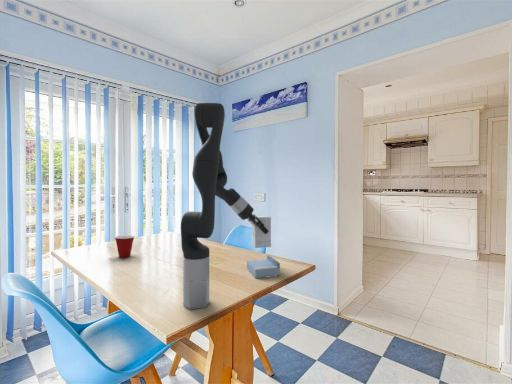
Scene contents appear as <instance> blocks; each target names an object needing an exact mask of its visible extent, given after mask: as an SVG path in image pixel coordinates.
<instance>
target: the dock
mask: <svg viewBox="0 0 512 384" xmlns="http://www.w3.org/2000/svg"><path fill="white" fill-rule="evenodd" d="M280 264H281V263H280V262H279V261H277V260H276V259H275V258H273V257H272V256H271V255H269V254H267V255H266V259H265V258H264V259H255V260H247V261H246V270H249V271H248V272H249V273H250V274H251V275H252V277H254V279H261V277H265V278H268V277H267V276H274V277H276V276H275V275H280V273H281V271H280V269H281V268H280V267H281V265H280Z"/></svg>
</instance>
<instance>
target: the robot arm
mask: <svg viewBox="0 0 512 384" xmlns="http://www.w3.org/2000/svg"><path fill="white" fill-rule="evenodd" d="M225 112H226V111H225V107H224V105H223V104H222V103H219V102H198V103H196V105H195V107H194V109H193V115H194V123H195V126H196V129H197V133H198V136H199V139H200V142H201V145H202V146H201V147H200V148H199V150H198V151H197V152H196V154H195V156H194V159H193V163H192V164H193V165H192V179H193V182H194V183H195V186H196V187H197V188H196V189H197V190H198V192H199V194H200V197H201V201H202V202H201V203H202V207H201V208H202V209H201V211H186V212H184V213H183V215H182V218H181V221H180V238H181V242H180V243H181V249H182V256H183V257H182V259H183V261H182V263H183V265H182V266H183V267H182V270H183V273H182V274H183V277H182V278H183V284H182V286H183V287H182V290H183V291H182V293H183V299H182V300H183V302H182V303H183V306H184V307H185V308H187V309H188V310H196V309H203V308H207V307H208V305H209V303H210V248H209V247H208V246H207V245H205V244H203V243H201V241H199V240H198V239H209V238H211V236H213V233H214V230H215V218H216V216H215V212H216V211H215V210H216V208H215V207H216V197H217V198H219V199H221V200H222V201H224V202H225V203H226V204H227V205H228V206H229V207H230V209H231V210H232V211H233V212H234V213H235V214H236V215H237V216H238V217H239V218H240V219H241V220H242V221H244V220H247V221H248V222H249V223H250V224H251V226H252V225H253V224H254V223H255V224H254V225H255V226H257V227H258V228H259V229H261V230H262V231H263V232H264V233H265V234H267V233H268V232H269V231H268V230H267V229H266V228H265V227H264V224H263V223H262V222H261V221H260V220H259V219H258V217H257V216H258V215H256V214H254V210H255V209H254V207H252V206H251V205H250V203H249V202H248V201H247V200H246V199H245V198H244V197H242V196H241V195H240V194H239V192H238V191H237V190H236V189H234V188H232V187H231V188H228V189H226V188H225V186H226V185H227V182H228V175H227V173H226V169H225V168H224V163H223V162H224V161H223V154H222V151H221V140H222V137H223V131H224V123H225V118H226V117H225V115H226V113H225ZM208 128H209V129H210V128H211V131H210V134H209V132H208V131H209V130H208ZM259 224H261V226H259Z"/></svg>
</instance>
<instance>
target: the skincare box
mask: <svg viewBox="0 0 512 384" xmlns="http://www.w3.org/2000/svg"><path fill="white" fill-rule="evenodd" d="M256 216H257V217H258V219H259V220H260V221H261V222H262V223H263V224H264V227H265V228H266V229H267V230H268V231H269V232H268V233H267V234H265V233H264V232H263V231H262V230H261V229H259V228H258V227H257V226H255V225H254V224H255V223H254V224H253V225H252V224H251V229H252V230H251V233H252V234H251V235H252V238H251V239H252V240H251V241H252V246H253V248H255V249H259V248H260V249H263V248H271V247H272V225H271V224H272V217H271V216H269V215H256ZM259 226H261V224H259Z"/></svg>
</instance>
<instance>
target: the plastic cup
mask: <svg viewBox="0 0 512 384" xmlns="http://www.w3.org/2000/svg"><path fill="white" fill-rule="evenodd" d="M135 238H136V236H135V235H128V234H126V235H117V236H114V239H115V243H116V249H117V253H118V257H119V258H121V259H124V258H129V257H130V256H131V254H132V248H133V243H134V239H135Z"/></svg>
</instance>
